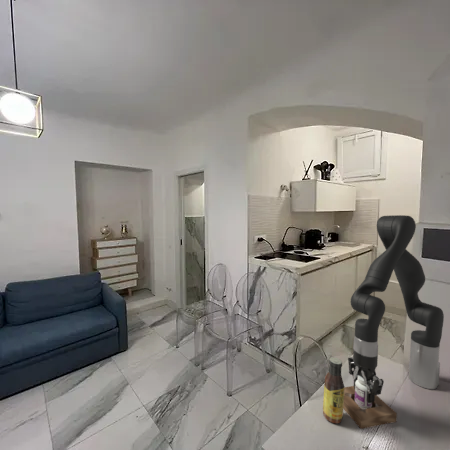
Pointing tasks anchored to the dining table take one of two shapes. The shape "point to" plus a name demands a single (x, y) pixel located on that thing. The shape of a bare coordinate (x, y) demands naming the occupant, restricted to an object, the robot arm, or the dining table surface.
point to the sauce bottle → (333, 392)
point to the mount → (367, 411)
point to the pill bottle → (361, 393)
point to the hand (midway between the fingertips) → (363, 395)
